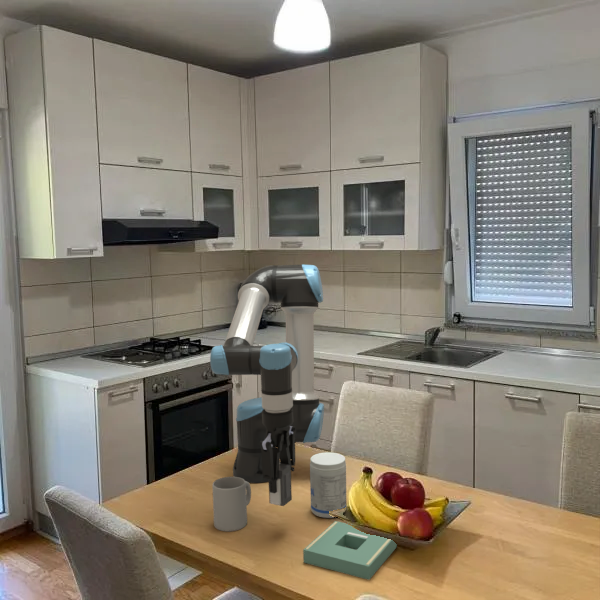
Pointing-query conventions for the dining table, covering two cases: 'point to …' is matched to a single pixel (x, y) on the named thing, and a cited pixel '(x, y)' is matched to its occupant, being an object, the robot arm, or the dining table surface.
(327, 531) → the green square socket board
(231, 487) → the mug
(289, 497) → the plug
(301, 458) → the dining table surface
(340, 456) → the supplement tub
